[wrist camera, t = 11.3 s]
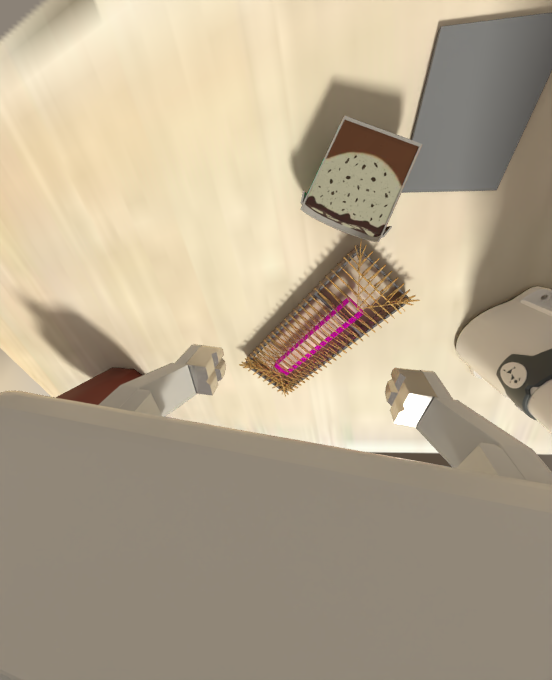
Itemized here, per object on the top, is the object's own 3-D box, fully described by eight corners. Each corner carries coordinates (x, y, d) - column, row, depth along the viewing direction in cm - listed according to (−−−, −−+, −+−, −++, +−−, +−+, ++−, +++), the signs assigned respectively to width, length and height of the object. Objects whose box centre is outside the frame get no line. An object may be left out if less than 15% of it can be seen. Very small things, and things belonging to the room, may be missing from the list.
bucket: (83, 360, 63) (-32, 437, 42) (138, 350, 56) (35, 435, 36) (132, 413, 75) (62, 493, 54) (183, 410, 68) (125, 499, 48)
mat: (573, 13, 20) (580, 8, 20) (493, 190, 28) (496, 190, 27) (438, 30, 22) (441, 26, 21) (397, 192, 30) (399, 192, 29)
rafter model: (357, 236, 34) (364, 241, 29) (412, 292, 37) (427, 306, 32) (243, 356, 52) (235, 372, 47) (287, 387, 55) (284, 405, 50)
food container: (332, 138, 29) (303, 215, 34) (331, 110, 24) (296, 207, 28) (415, 169, 28) (374, 245, 33) (435, 149, 23) (382, 243, 27)
